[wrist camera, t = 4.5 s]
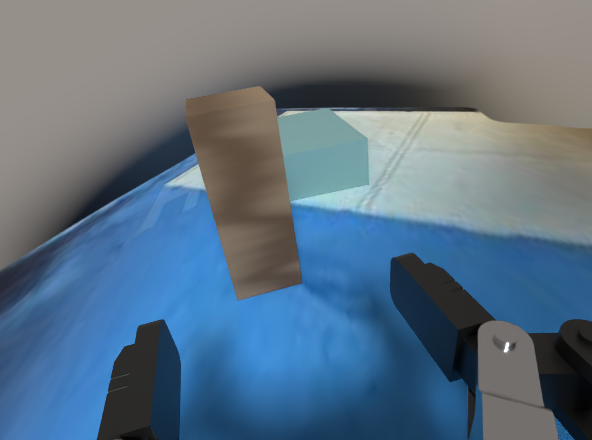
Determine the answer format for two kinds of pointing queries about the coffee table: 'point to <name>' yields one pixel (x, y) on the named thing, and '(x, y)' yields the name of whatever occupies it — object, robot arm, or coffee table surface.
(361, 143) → the teal block
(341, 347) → the coffee table surface
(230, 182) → the walnut pillar
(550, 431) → the robot arm
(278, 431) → the coffee table surface
